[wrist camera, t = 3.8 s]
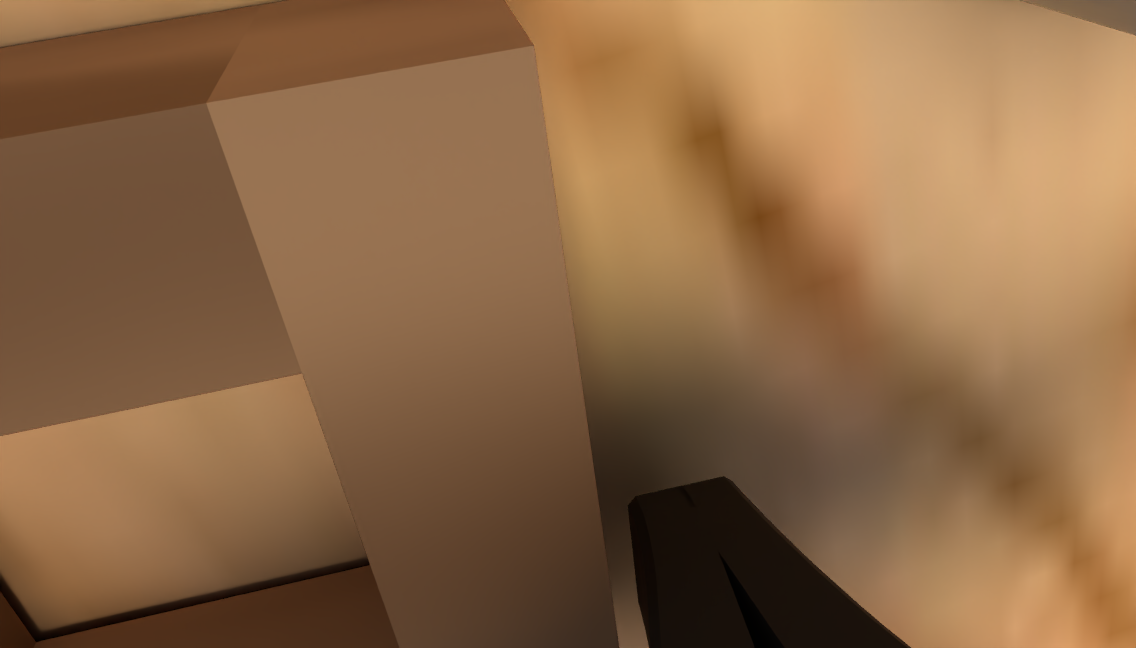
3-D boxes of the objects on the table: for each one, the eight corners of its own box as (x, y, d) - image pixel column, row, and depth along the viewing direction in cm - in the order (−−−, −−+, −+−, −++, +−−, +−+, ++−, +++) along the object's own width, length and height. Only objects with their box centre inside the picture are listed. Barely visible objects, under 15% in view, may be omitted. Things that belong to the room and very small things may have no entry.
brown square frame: (589, 615, 13) (642, 817, 10) (-50, 770, 12) (-165, 1034, 9) (482, -33, 8) (534, 46, 5) (-608, 149, 7) (-1162, 343, 4)
